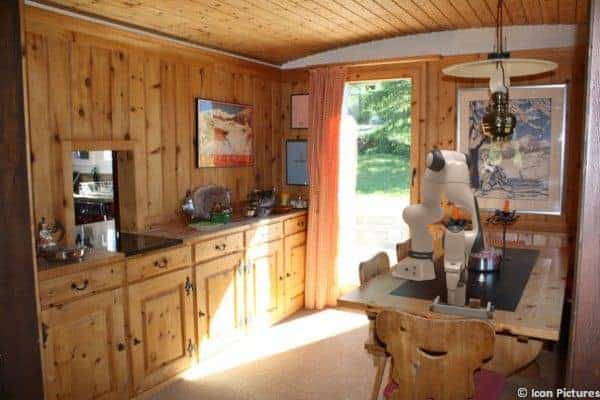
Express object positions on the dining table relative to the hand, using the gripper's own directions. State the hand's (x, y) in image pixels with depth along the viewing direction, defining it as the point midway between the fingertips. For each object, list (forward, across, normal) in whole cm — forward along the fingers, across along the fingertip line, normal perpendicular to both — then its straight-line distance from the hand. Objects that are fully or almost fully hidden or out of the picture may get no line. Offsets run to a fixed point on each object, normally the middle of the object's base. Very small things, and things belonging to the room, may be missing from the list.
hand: (453, 293), depth 221 cm
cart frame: (+3, +11, +4) cm, 12 cm away
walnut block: (+3, +11, +10) cm, 15 cm away
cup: (+4, +6, +1) cm, 7 cm away
